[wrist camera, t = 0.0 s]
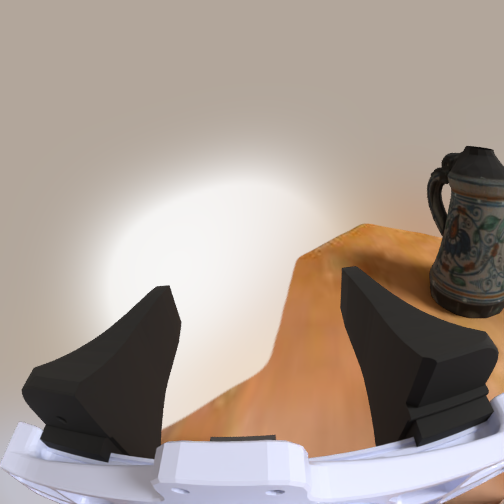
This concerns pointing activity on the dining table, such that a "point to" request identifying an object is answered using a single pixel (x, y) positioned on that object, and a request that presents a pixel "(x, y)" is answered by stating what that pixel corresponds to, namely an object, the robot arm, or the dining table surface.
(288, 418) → the dining table surface
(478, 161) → the beer stein
